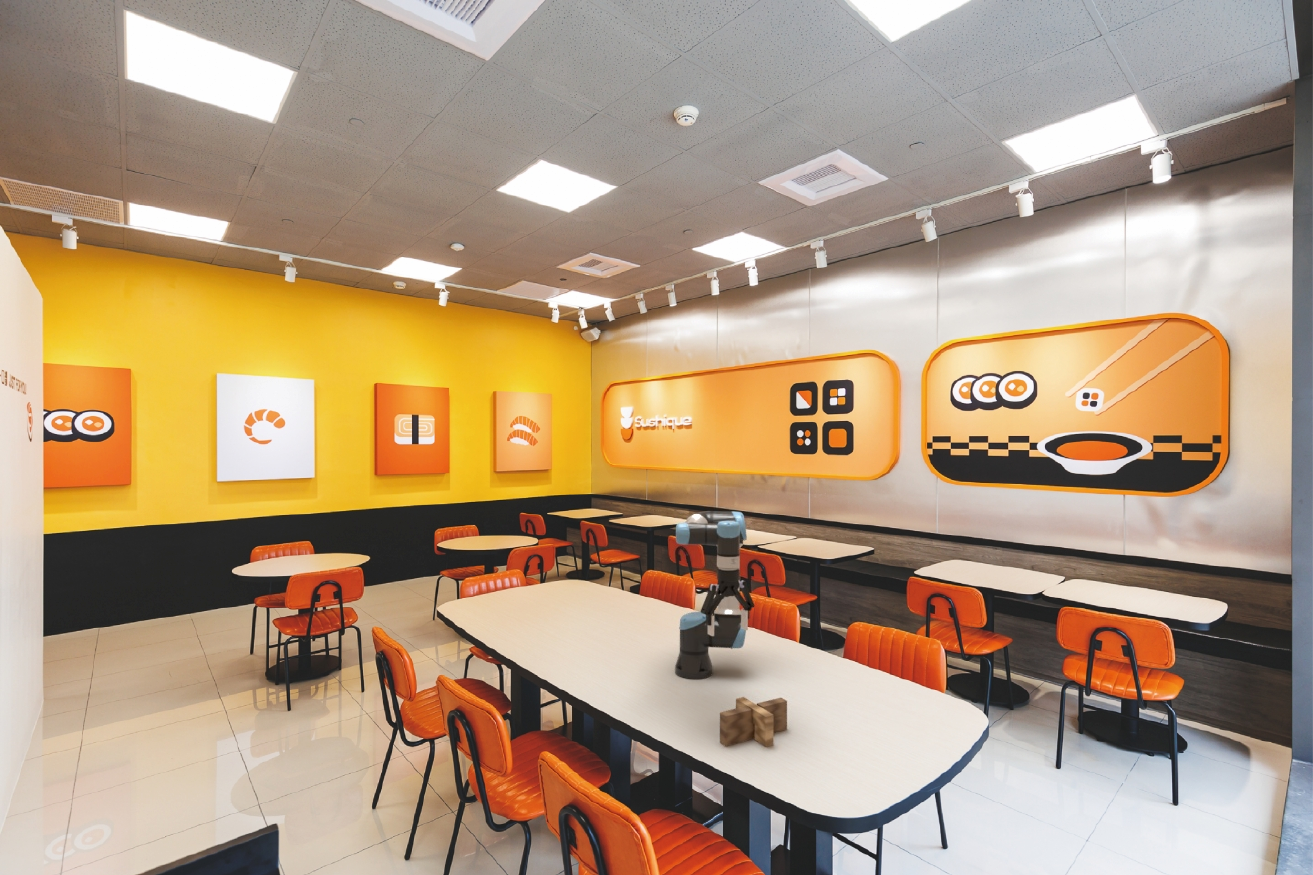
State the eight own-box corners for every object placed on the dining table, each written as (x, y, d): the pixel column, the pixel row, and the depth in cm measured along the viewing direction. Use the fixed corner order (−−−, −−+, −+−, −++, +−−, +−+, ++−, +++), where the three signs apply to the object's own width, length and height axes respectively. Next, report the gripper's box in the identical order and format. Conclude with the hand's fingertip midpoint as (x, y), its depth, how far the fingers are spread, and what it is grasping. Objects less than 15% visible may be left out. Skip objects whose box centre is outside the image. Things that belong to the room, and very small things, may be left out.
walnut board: (725, 746, 182) (725, 716, 182) (719, 741, 185) (719, 712, 185) (786, 729, 194) (787, 700, 194) (780, 725, 196) (780, 697, 196)
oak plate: (773, 744, 183) (773, 714, 184) (765, 746, 182) (765, 716, 182) (743, 724, 196) (743, 696, 197) (735, 726, 195) (735, 698, 195)
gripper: (703, 573, 192) (702, 640, 192) (765, 566, 204) (764, 629, 204) (690, 569, 199) (690, 634, 198) (751, 562, 211) (750, 624, 210)
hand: (727, 632), depth 201 cm, fingers open, 13 cm apart
